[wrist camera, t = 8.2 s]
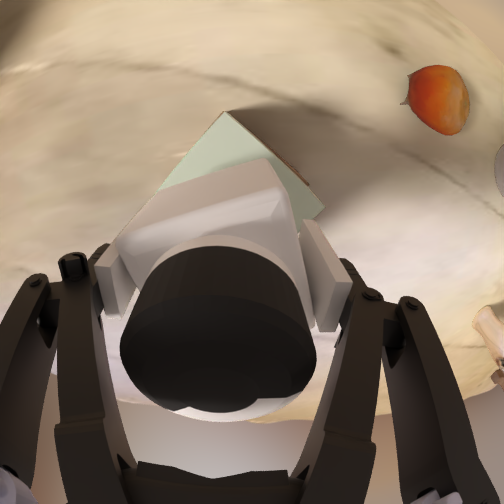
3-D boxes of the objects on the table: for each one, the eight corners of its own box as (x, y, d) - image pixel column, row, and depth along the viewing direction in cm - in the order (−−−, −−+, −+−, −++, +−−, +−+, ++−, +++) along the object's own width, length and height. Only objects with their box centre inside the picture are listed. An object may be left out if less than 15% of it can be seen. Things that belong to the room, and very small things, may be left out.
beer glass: (493, 312, 43) (527, 355, 30) (472, 333, 45) (504, 379, 32) (489, 298, 41) (528, 345, 27) (467, 321, 43) (503, 371, 30)
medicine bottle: (155, 191, 16) (49, 323, 6) (267, 155, 16) (328, 255, 5) (194, 283, 20) (167, 443, 9) (293, 257, 19) (344, 417, 9)
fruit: (391, 50, 20) (459, 58, 15) (419, 71, 25) (475, 82, 19) (386, 118, 24) (455, 135, 19) (414, 127, 28) (469, 144, 23)
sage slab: (154, 197, 24) (137, 217, 20) (227, 112, 21) (224, 111, 17) (235, 260, 28) (235, 290, 23) (309, 188, 25) (325, 207, 20)
